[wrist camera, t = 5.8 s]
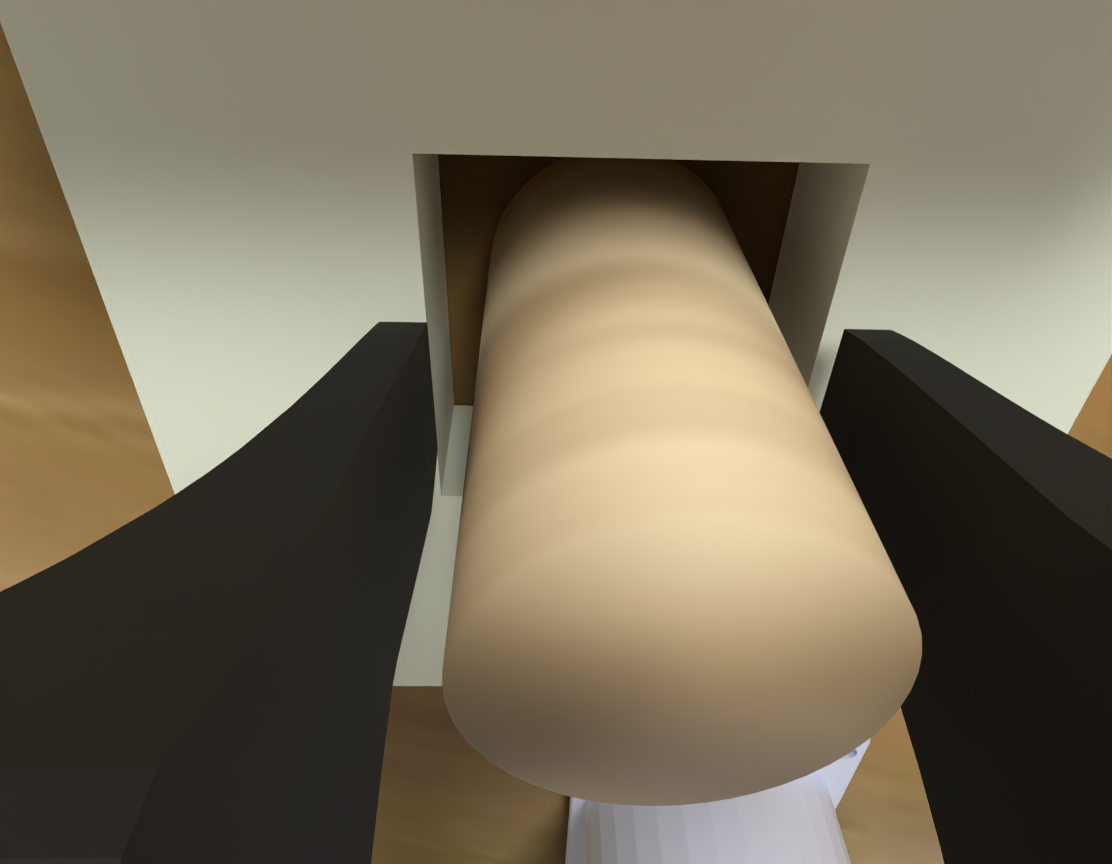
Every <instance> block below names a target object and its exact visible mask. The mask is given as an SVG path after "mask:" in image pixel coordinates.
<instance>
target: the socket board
mask: <svg viewBox="0 0 1112 864" xmlns="http://www.w3.org/2000/svg"><path fill="white" fill-rule="evenodd" d="M0 23H1V25H2V28H3V31H4V33H5V36H6V39H7V42H8V44H9V47H10V50H11V52H12V55H13V58H14V60H15V63H16V66H17V69H18V71H19V74H20V77H21V79H22V82H23V85H24V87H25V90H26V93H27V96H28V98H29V101H30V104H31V106H32V109H33V112H34V115H35V117H36V120H37V123H38V125H39V128H40V131H41V133H42V136H43V139H44V142H45V144H46V147H47V150H48V152H49V155H50V158H51V160H52V163H53V166H54V169H55V171H56V174H57V177H58V179H59V182H60V185H61V188H62V190H63V193H64V196H65V198H66V201H67V204H68V206H69V209H70V212H71V215H72V217H73V220H74V223H75V225H76V228H77V231H78V233H79V236H80V239H81V242H82V244H83V247H84V250H85V252H86V255H87V258H88V260H89V263H90V266H91V269H92V271H93V274H94V277H95V279H96V282H97V285H98V288H99V290H100V293H101V296H102V298H103V301H104V304H105V306H106V309H107V312H108V315H109V317H110V320H111V323H112V325H113V328H114V331H115V333H116V336H117V339H118V342H119V344H120V347H121V350H122V352H123V355H124V358H125V361H126V363H127V366H128V369H129V371H130V374H131V377H132V379H133V382H134V385H135V388H136V390H137V393H138V396H139V398H140V401H141V404H142V406H143V409H144V412H145V415H146V417H147V420H148V423H149V425H150V428H151V431H152V433H153V436H154V439H155V442H156V444H157V447H158V450H159V452H160V455H161V458H162V461H163V463H164V466H165V469H166V471H167V474H168V477H169V479H170V482H171V485H172V488H173V490H174V493H175V494H177V493H178V492H180V491H181V490H183V489H184V488H186V487H187V486H189V485H190V484H192V483H193V482H194V481H196V480H197V479H199V478H200V477H202V476H203V475H205V474H206V473H208V472H209V471H211V470H212V469H213V468H215V467H216V466H217V465H219V464H220V463H222V462H223V461H224V460H226V459H227V458H228V457H230V456H231V455H232V454H234V453H235V452H236V451H238V450H239V449H240V448H241V447H243V446H244V445H245V444H246V443H248V442H249V441H250V440H251V439H252V438H254V437H255V436H256V435H257V434H258V433H260V432H261V431H262V430H263V429H264V428H265V427H267V426H268V425H269V424H270V423H271V422H273V421H274V420H275V419H276V418H277V417H279V416H280V415H281V414H282V413H283V412H285V411H286V410H287V409H288V408H289V407H291V406H292V405H293V404H294V403H295V402H296V401H297V400H298V399H299V398H300V397H301V396H302V395H304V394H305V393H306V392H307V391H308V390H309V389H310V388H311V387H312V386H313V385H314V384H315V383H316V382H317V381H319V380H320V379H321V378H322V377H323V376H324V375H325V374H326V373H327V372H328V371H329V370H330V369H331V368H332V367H333V366H334V365H335V364H336V363H337V362H338V361H339V360H340V359H341V358H342V357H343V356H344V355H345V354H346V353H347V352H348V351H349V350H350V349H351V348H352V347H353V346H354V345H355V344H356V343H357V342H358V341H359V340H360V339H361V338H362V337H363V336H364V335H365V334H366V333H368V332H369V331H370V330H371V329H372V328H373V327H374V326H375V325H376V324H377V323H378V322H427V325H428V337H429V349H430V361H431V373H432V385H433V397H434V409H435V421H436V433H437V445H438V452H437V463H436V473H435V484H434V493H433V503H432V512H431V517H430V522H429V526H428V531H427V535H426V539H425V544H424V548H423V552H422V557H421V561H420V566H419V570H418V574H417V578H416V583H415V587H414V591H413V595H412V600H411V604H410V608H409V613H408V617H407V621H406V625H405V630H404V634H403V638H402V642H401V647H400V651H399V655H398V660H397V665H396V670H395V676H394V681H393V686H442V669H443V660H444V652H445V643H446V634H447V626H448V617H449V609H450V600H451V591H452V583H453V574H454V566H455V557H456V548H457V540H458V531H459V523H460V514H461V506H462V497H463V488H464V480H465V471H466V463H467V454H468V445H469V437H470V428H471V420H472V411H473V406H469V405H454V395H453V379H452V364H451V348H450V332H449V317H448V301H447V285H446V270H445V254H444V239H443V223H442V207H441V192H440V176H439V160H438V154H461V155H504V156H548V157H591V158H635V159H678V160H722V161H765V162H800V163H799V168H798V172H797V177H796V181H795V186H794V190H793V195H792V199H791V204H790V208H789V213H788V217H787V222H786V226H785V231H784V235H783V240H782V244H781V249H780V253H779V258H778V262H777V267H776V271H775V276H774V280H773V285H772V289H771V294H770V298H769V303H768V306H769V308H770V310H771V312H772V314H773V316H774V318H775V321H776V323H777V325H778V327H779V329H780V331H781V333H782V335H783V337H784V339H785V341H786V344H787V346H788V348H789V350H790V352H791V354H792V356H793V358H794V360H795V362H796V364H797V367H798V369H799V371H800V373H801V375H802V377H803V379H804V381H805V383H806V385H807V387H808V390H809V392H810V394H811V396H812V398H813V400H814V402H815V404H816V406H817V408H818V411H819V412H820V409H821V405H822V402H823V399H824V395H825V392H826V389H827V385H828V382H829V378H830V375H831V372H832V368H833V365H834V362H835V358H836V355H837V351H838V348H839V345H840V341H841V338H842V334H843V331H844V329H875V330H893V331H895V332H897V333H899V334H901V335H903V336H905V337H907V338H909V339H911V340H913V341H915V342H916V343H918V344H920V345H922V346H923V347H925V348H927V349H928V350H930V351H932V352H933V353H935V354H937V355H939V356H940V357H942V358H943V359H945V360H947V361H948V362H950V363H952V364H953V365H955V366H956V367H958V368H960V369H961V370H963V371H964V372H966V373H968V374H969V375H971V376H972V377H974V378H976V379H977V380H979V381H980V382H982V383H984V384H985V385H987V386H988V387H990V388H992V389H993V390H995V391H996V392H998V393H1000V394H1001V395H1003V396H1004V397H1006V398H1008V399H1009V400H1011V401H1012V402H1014V403H1016V404H1017V405H1019V406H1021V407H1022V408H1024V409H1026V410H1027V411H1029V412H1031V413H1032V414H1034V415H1035V416H1037V417H1039V418H1040V419H1042V420H1044V421H1046V422H1047V423H1049V424H1051V425H1052V426H1054V427H1056V428H1057V429H1059V430H1061V431H1063V432H1064V433H1066V434H1068V432H1069V430H1070V428H1071V426H1072V425H1073V423H1074V421H1075V419H1076V417H1077V416H1078V414H1079V412H1080V410H1081V408H1082V407H1083V405H1084V403H1085V401H1086V399H1087V397H1088V396H1089V394H1090V392H1091V390H1092V388H1093V387H1094V385H1095V383H1096V381H1097V379H1098V378H1099V376H1100V374H1101V372H1102V370H1103V369H1104V367H1105V365H1106V363H1107V361H1108V359H1109V358H1110V356H1111V354H1112V0H0Z"/></svg>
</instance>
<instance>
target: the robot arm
mask: <svg viewBox="0 0 1112 864" xmlns="http://www.w3.org/2000/svg"><path fill="white" fill-rule="evenodd" d="M819 413H820V415H821V417H822V419H823V421H824V423H825V425H826V427H827V429H828V431H829V434H830V436H831V438H832V440H833V442H834V444H835V446H836V448H837V450H838V452H839V454H840V457H841V459H842V461H843V463H844V465H845V467H846V469H847V471H848V473H849V475H850V477H851V480H852V482H853V484H854V486H855V488H856V490H857V492H858V494H859V496H860V498H861V500H862V503H863V505H864V507H865V509H866V511H867V513H868V515H869V517H870V519H871V521H872V523H873V526H874V528H875V530H876V532H877V534H878V536H879V538H880V540H881V542H882V544H883V546H884V549H885V551H886V553H887V555H888V557H889V559H890V561H891V563H892V565H893V567H894V569H895V572H896V574H897V576H898V578H899V580H900V582H901V584H902V586H903V588H904V590H905V592H906V595H907V597H908V599H909V601H910V603H911V605H912V607H913V609H914V611H915V613H916V615H917V619H918V623H919V627H920V630H921V634H922V657H921V662H920V667H919V672H918V675H917V677H916V679H915V682H914V684H913V687H912V689H911V691H910V693H909V694H908V696H907V697H906V699H905V701H904V702H903V704H902V705H901V709H902V712H903V716H904V719H905V722H906V726H907V729H908V732H909V736H910V739H911V742H912V746H913V749H914V752H915V756H916V759H917V762H918V766H919V769H920V773H921V777H922V780H923V784H924V788H925V791H926V795H927V799H928V802H929V806H930V810H931V813H932V817H933V821H934V825H935V828H936V832H937V836H938V839H939V843H940V847H941V851H942V855H943V859H944V863H945V864H1112V459H1111V458H1109V457H1107V456H1106V455H1104V454H1102V453H1100V452H1098V451H1097V450H1095V449H1093V448H1091V447H1089V446H1087V445H1086V444H1084V443H1082V442H1080V441H1078V440H1077V439H1075V438H1073V437H1071V436H1069V435H1068V434H1066V433H1064V432H1063V431H1061V430H1059V429H1057V428H1056V427H1054V426H1052V425H1051V424H1049V423H1047V422H1046V421H1044V420H1042V419H1040V418H1039V417H1037V416H1035V415H1034V414H1032V413H1031V412H1029V411H1027V410H1026V409H1024V408H1022V407H1021V406H1019V405H1017V404H1016V403H1014V402H1012V401H1011V400H1009V399H1008V398H1006V397H1004V396H1003V395H1001V394H1000V393H998V392H996V391H995V390H993V389H992V388H990V387H988V386H987V385H985V384H984V383H982V382H980V381H979V380H977V379H976V378H974V377H972V376H971V375H969V374H968V373H966V372H964V371H963V370H961V369H960V368H958V367H956V366H955V365H953V364H952V363H950V362H948V361H947V360H945V359H943V358H942V357H940V356H939V355H937V354H935V353H933V352H932V351H930V350H928V349H927V348H925V347H923V346H922V345H920V344H918V343H916V342H915V341H913V340H911V339H909V338H907V337H905V336H903V335H901V334H899V333H897V332H895V331H893V330H875V329H844V331H843V334H842V338H841V341H840V345H839V348H838V351H837V355H836V358H835V362H834V365H833V368H832V372H831V375H830V378H829V382H828V385H827V389H826V392H825V395H824V399H823V402H822V405H821V409H820V412H819ZM437 452H438V445H437V433H436V421H435V409H434V397H433V385H432V373H431V361H430V349H429V337H428V325H427V322H378V323H377V324H376V325H375V326H374V327H373V328H372V329H371V330H370V331H369V332H368V333H366V334H365V335H364V336H363V337H362V338H361V339H360V340H359V341H358V342H357V343H356V344H355V345H354V346H353V347H352V348H351V349H350V350H349V351H348V352H347V353H346V354H345V355H344V356H343V357H342V358H341V359H340V360H339V361H338V362H337V363H336V364H335V365H334V366H333V367H332V368H331V369H330V370H329V371H328V372H327V373H326V374H325V375H324V376H323V377H322V378H321V379H320V380H319V381H317V382H316V383H315V384H314V385H313V386H312V387H311V388H310V389H309V390H308V391H307V392H306V393H305V394H304V395H302V396H301V397H300V398H299V399H298V400H297V401H296V402H295V403H294V404H293V405H292V406H291V407H289V408H288V409H287V410H286V411H285V412H283V413H282V414H281V415H280V416H279V417H277V418H276V419H275V420H274V421H273V422H271V423H270V424H269V425H268V426H267V427H265V428H264V429H263V430H262V431H261V432H260V433H258V434H257V435H256V436H255V437H254V438H252V439H251V440H250V441H249V442H248V443H246V444H245V445H244V446H243V447H241V448H240V449H239V450H238V451H236V452H235V453H234V454H232V455H231V456H230V457H228V458H227V459H226V460H224V461H223V462H222V463H220V464H219V465H217V466H216V467H215V468H213V469H212V470H211V471H209V472H208V473H206V474H205V475H203V476H202V477H200V478H199V479H197V480H196V481H194V482H193V483H192V484H190V485H189V486H187V487H186V488H184V489H183V490H181V491H180V492H178V493H177V494H175V495H174V496H172V497H171V498H169V499H168V500H166V501H165V502H163V503H161V504H160V505H158V506H157V507H155V508H154V509H152V510H150V511H148V512H147V513H145V514H143V515H141V516H140V517H138V518H136V519H135V520H133V521H131V522H129V523H128V524H126V525H124V526H122V527H121V528H119V529H117V530H116V531H114V532H112V533H110V534H109V535H107V536H105V537H103V538H102V539H100V540H98V541H96V542H95V543H93V544H91V545H90V546H88V547H86V548H84V549H83V550H81V551H79V552H77V553H76V554H74V555H72V556H70V557H68V558H67V559H65V560H63V561H61V562H59V563H57V564H55V565H53V566H51V567H49V568H47V569H45V570H43V571H41V572H39V573H37V574H35V575H33V576H31V577H29V578H28V579H26V580H24V581H22V582H20V583H18V584H16V585H14V586H12V587H10V588H8V589H5V590H3V591H1V592H0V864H371V857H372V848H373V839H374V831H375V822H376V813H377V805H378V796H379V787H380V779H381V770H382V762H383V754H384V746H385V738H386V731H387V723H388V715H389V707H390V699H391V692H392V687H393V681H394V676H395V670H396V665H397V660H398V655H399V651H400V647H401V642H402V638H403V634H404V630H405V625H406V621H407V617H408V613H409V608H410V604H411V600H412V595H413V591H414V587H415V583H416V578H417V574H418V570H419V566H420V561H421V557H422V552H423V548H424V544H425V539H426V535H427V531H428V526H429V522H430V517H431V512H432V503H433V493H434V484H435V473H436V463H437ZM869 743H870V739H868V740H867V741H866V742H864V743H863V744H861V745H860V746H859V747H857V748H856V749H854V750H853V751H852V752H850V753H849V754H847V755H845V756H844V757H842V758H840V759H838V760H837V761H835V762H833V763H831V764H830V765H828V766H826V767H824V768H822V769H819V770H817V771H815V772H813V773H811V774H809V775H807V776H804V777H802V778H799V779H797V780H794V781H791V782H789V783H786V784H783V785H781V786H777V787H774V788H771V789H767V790H764V791H761V792H757V793H753V794H749V795H744V796H740V797H736V798H731V799H725V800H719V801H713V802H707V803H697V804H687V805H671V806H634V805H620V804H609V803H601V802H595V801H589V800H583V799H578V798H574V797H570V807H569V820H568V832H567V844H566V857H565V864H851V862H850V859H849V856H848V852H847V849H846V846H845V842H844V839H843V836H842V832H841V829H840V826H839V823H838V819H837V816H836V813H835V809H836V807H837V805H838V804H839V802H840V800H841V798H842V796H843V794H844V792H845V790H846V788H847V786H848V784H849V782H850V780H851V778H852V776H853V774H854V772H855V770H856V768H857V767H858V765H859V763H860V761H861V759H862V757H863V755H864V753H865V751H866V749H867V747H868V745H869Z"/></svg>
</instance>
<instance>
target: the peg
mask: <svg viewBox="0 0 1112 864" xmlns="http://www.w3.org/2000/svg"><path fill="white" fill-rule="evenodd" d="M921 657H922V634H921V630H920V627H919V623H918V619H917V615H916V613H915V611H914V609H913V607H912V605H911V603H910V601H909V599H908V597H907V595H906V592H905V590H904V588H903V586H902V584H901V582H900V580H899V578H898V576H897V574H896V572H895V569H894V567H893V565H892V563H891V561H890V559H889V557H888V555H887V553H886V551H885V549H884V546H883V544H882V542H881V540H880V538H879V536H878V534H877V532H876V530H875V528H874V526H873V523H872V521H871V519H870V517H869V515H868V513H867V511H866V509H865V507H864V505H863V503H862V500H861V498H860V496H859V494H858V492H857V490H856V488H855V486H854V484H853V482H852V480H851V477H850V475H849V473H848V471H847V469H846V467H845V465H844V463H843V461H842V459H841V457H840V454H839V452H838V450H837V448H836V446H835V444H834V442H833V440H832V438H831V436H830V434H829V431H828V429H827V427H826V425H825V423H824V421H823V419H822V417H821V415H820V413H819V411H818V408H817V406H816V404H815V402H814V400H813V398H812V396H811V394H810V392H809V390H808V387H807V385H806V383H805V381H804V379H803V377H802V375H801V373H800V371H799V369H798V367H797V364H796V362H795V360H794V358H793V356H792V354H791V352H790V350H789V348H788V346H787V344H786V341H785V339H784V337H783V335H782V333H781V331H780V329H779V327H778V325H777V323H776V321H775V318H774V316H773V314H772V312H771V310H770V308H769V306H768V304H767V302H766V300H765V298H764V295H763V293H762V291H761V289H760V287H759V285H758V283H757V281H756V279H755V277H754V275H753V272H752V270H751V268H750V266H749V264H748V262H747V260H746V258H745V256H744V254H743V252H742V249H741V247H740V245H739V243H738V241H737V239H736V237H735V235H734V233H733V231H732V229H731V226H730V224H729V222H728V220H727V218H726V216H725V214H724V212H723V210H722V208H721V206H720V204H719V202H718V200H717V199H716V197H715V196H714V194H713V193H712V192H711V190H710V189H709V187H708V186H707V185H706V184H705V183H704V182H703V181H702V180H701V179H700V178H699V177H698V176H697V175H696V174H695V173H693V172H692V171H691V170H689V169H688V168H687V167H685V166H684V165H682V164H680V163H679V162H677V161H675V160H673V159H635V158H591V157H564V158H562V159H560V160H558V161H556V162H554V163H552V164H551V165H549V166H547V167H546V168H544V169H543V170H541V171H539V172H538V173H537V174H536V175H535V176H533V177H532V178H531V179H530V180H529V181H527V182H526V183H525V184H524V186H523V187H522V188H521V189H520V190H519V191H518V192H517V193H516V194H515V196H514V197H513V199H512V200H511V201H510V203H509V204H508V206H507V207H506V209H505V211H504V213H503V215H502V217H501V219H500V221H499V223H498V226H497V229H496V232H495V235H494V239H493V244H492V249H491V256H490V265H489V274H488V282H487V291H486V299H485V308H484V317H483V325H482V334H481V342H480V351H479V360H478V368H477V377H476V385H475V394H474V402H473V411H472V420H471V428H470V437H469V445H468V454H467V463H466V471H465V480H464V488H463V497H462V506H461V514H460V523H459V531H458V540H457V548H456V557H455V566H454V574H453V583H452V591H451V600H450V609H449V617H448V626H447V634H446V643H445V652H444V660H443V669H442V691H443V696H444V701H445V705H446V708H447V711H448V713H449V715H450V717H451V720H452V722H453V724H454V725H455V727H456V728H457V730H458V731H459V732H460V734H461V735H462V737H463V738H464V739H465V740H466V741H467V742H468V743H469V744H470V746H471V747H472V748H473V749H474V750H475V751H476V752H477V753H479V754H480V755H481V756H482V757H484V758H485V759H486V760H488V761H489V762H490V763H492V764H493V765H494V766H496V767H498V768H500V769H501V770H503V771H505V772H506V773H508V774H510V775H511V776H513V777H516V778H518V779H520V780H522V781H525V782H527V783H529V784H531V785H534V786H536V787H539V788H542V789H545V790H548V791H551V792H554V793H558V794H562V795H566V796H570V797H574V798H578V799H583V800H589V801H595V802H601V803H609V804H620V805H634V806H671V805H687V804H697V803H707V802H713V801H719V800H725V799H731V798H736V797H740V796H744V795H749V794H753V793H757V792H761V791H764V790H767V789H771V788H774V787H777V786H781V785H783V784H786V783H789V782H791V781H794V780H797V779H799V778H802V777H804V776H807V775H809V774H811V773H813V772H815V771H817V770H819V769H822V768H824V767H826V766H828V765H830V764H831V763H833V762H835V761H837V760H838V759H840V758H842V757H844V756H845V755H847V754H849V753H850V752H852V751H853V750H854V749H856V748H857V747H859V746H860V745H861V744H863V743H864V742H866V741H867V740H868V739H870V738H871V737H872V736H873V735H874V734H875V733H876V732H877V731H879V730H880V729H881V728H882V727H883V726H884V725H885V724H886V723H887V722H888V721H889V720H890V719H891V717H892V716H893V715H894V714H895V713H896V712H897V711H898V709H899V708H900V707H901V705H902V704H903V702H904V701H905V699H906V697H907V696H908V694H909V693H910V691H911V689H912V687H913V684H914V682H915V679H916V677H917V675H918V672H919V667H920V662H921Z"/></svg>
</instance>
